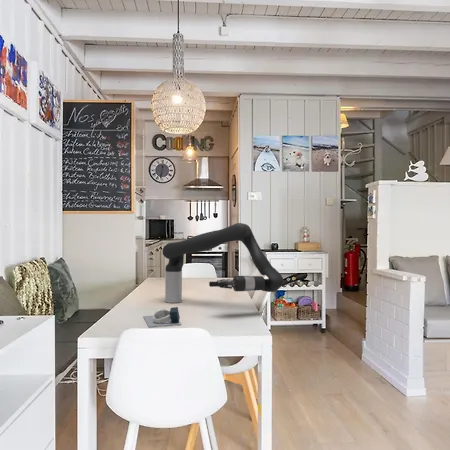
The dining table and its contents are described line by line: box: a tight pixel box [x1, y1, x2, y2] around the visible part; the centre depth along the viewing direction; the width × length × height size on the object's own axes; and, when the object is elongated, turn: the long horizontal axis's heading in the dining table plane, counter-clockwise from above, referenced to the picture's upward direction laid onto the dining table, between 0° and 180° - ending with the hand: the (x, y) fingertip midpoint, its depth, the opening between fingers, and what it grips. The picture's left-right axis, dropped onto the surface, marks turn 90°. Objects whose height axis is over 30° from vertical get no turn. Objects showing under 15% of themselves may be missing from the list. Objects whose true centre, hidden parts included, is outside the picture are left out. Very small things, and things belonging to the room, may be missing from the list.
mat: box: [142, 314, 182, 329], centre depth 187 cm, size 20×14×1 cm
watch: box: [153, 306, 181, 324], centre depth 183 cm, size 6×8×11 cm
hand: (209, 284), depth 195 cm, fingers closed
